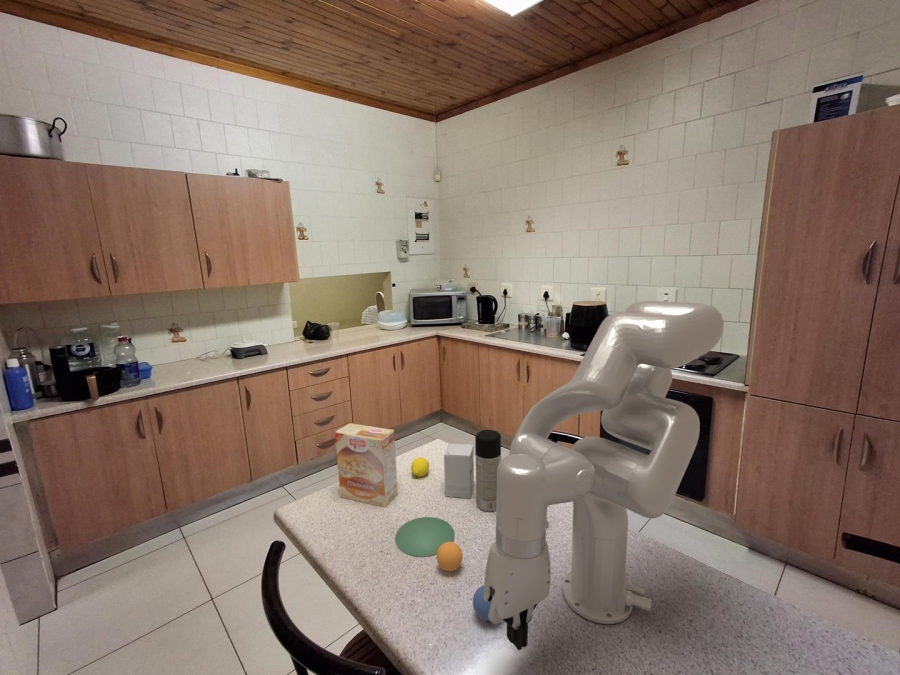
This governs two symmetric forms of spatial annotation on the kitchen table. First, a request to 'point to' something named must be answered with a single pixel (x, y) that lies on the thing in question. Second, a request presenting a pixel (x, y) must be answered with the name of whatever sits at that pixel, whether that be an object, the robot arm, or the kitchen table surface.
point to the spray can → (487, 468)
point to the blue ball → (481, 604)
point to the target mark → (423, 536)
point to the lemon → (420, 466)
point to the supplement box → (459, 470)
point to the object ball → (449, 556)
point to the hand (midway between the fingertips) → (516, 641)
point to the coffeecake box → (367, 464)
